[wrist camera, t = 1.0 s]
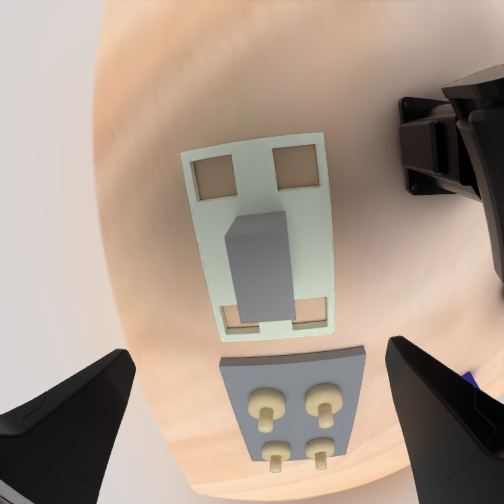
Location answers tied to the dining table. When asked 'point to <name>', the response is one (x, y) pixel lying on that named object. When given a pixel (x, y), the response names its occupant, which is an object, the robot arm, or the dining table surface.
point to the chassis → (295, 403)
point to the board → (266, 199)
